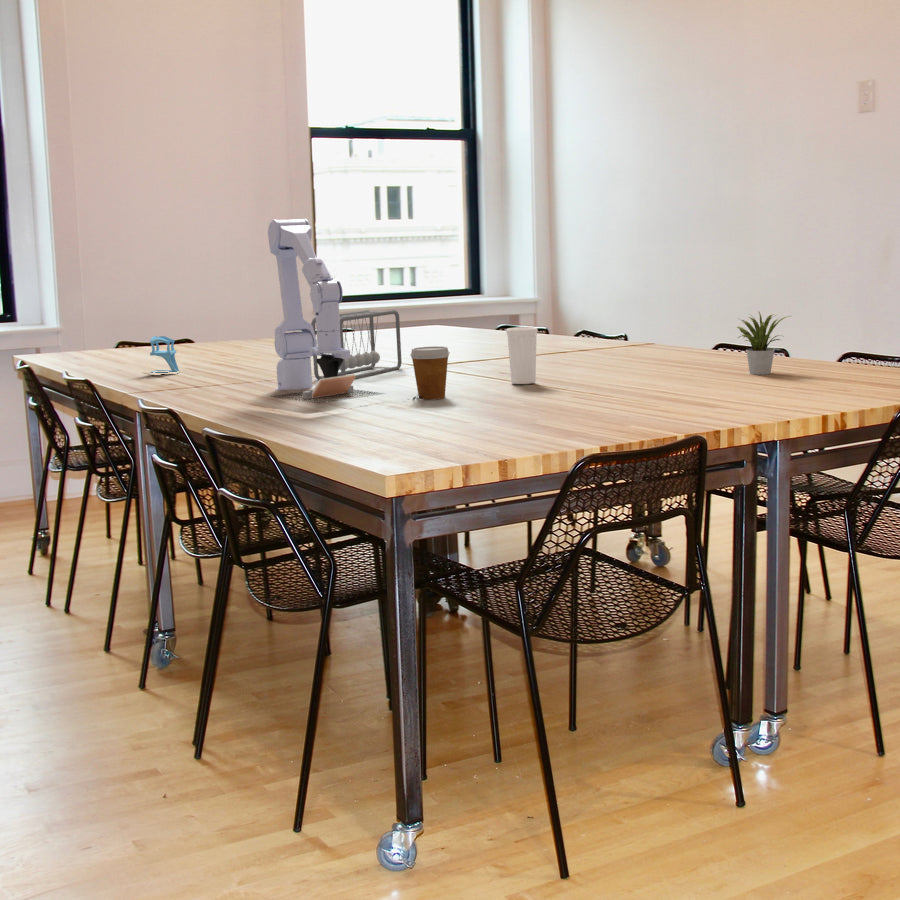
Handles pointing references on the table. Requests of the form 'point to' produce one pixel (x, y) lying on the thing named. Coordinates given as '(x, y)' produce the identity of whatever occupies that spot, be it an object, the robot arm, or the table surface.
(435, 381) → the disposable coffee cup
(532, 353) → the cup
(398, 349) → the newton's cradle
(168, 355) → the chair
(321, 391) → the tile
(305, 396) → the board
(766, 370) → the house plant
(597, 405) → the table surface
